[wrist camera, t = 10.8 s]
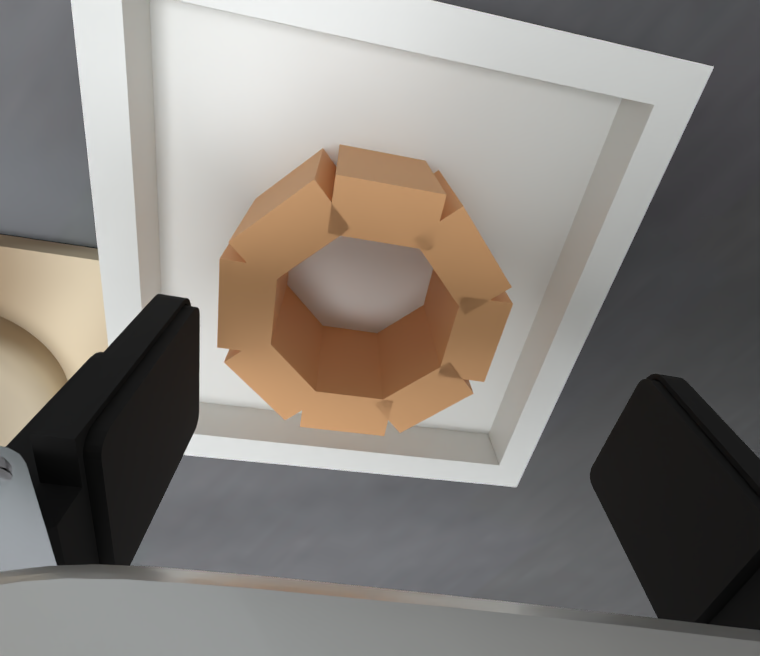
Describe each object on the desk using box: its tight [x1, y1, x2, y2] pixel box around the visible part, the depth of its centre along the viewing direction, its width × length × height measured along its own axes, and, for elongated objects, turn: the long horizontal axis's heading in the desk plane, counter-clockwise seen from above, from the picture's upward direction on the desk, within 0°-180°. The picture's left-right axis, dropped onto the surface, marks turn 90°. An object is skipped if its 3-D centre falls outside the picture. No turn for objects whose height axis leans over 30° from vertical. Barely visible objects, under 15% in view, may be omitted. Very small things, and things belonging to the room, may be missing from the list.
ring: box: [217, 144, 513, 436], centre depth 13 cm, size 7×7×4 cm
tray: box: [71, 0, 714, 487], centre depth 15 cm, size 14×14×2 cm
